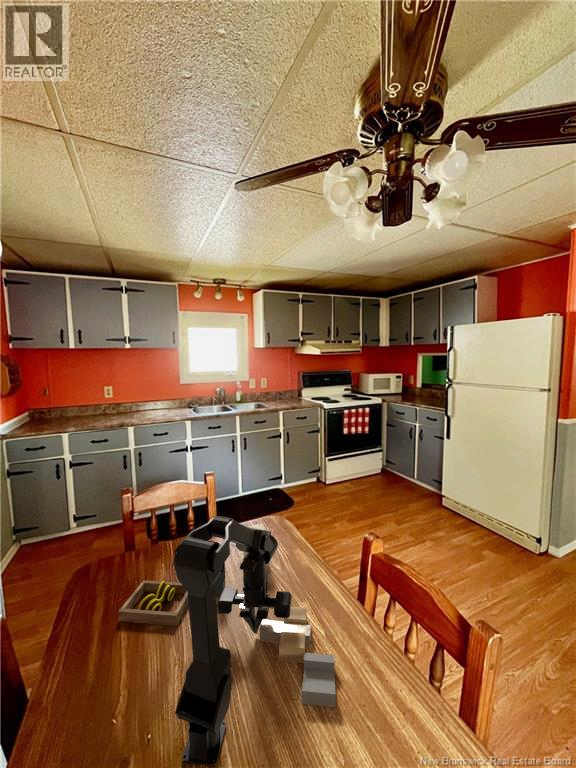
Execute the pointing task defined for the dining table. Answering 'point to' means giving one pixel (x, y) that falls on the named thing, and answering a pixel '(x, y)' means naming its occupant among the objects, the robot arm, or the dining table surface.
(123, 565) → the dining table surface
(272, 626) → the bar
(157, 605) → the yellow looped piece
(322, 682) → the v cradle
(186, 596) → the valet tray
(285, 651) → the wooden blocks
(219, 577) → the vaping device
